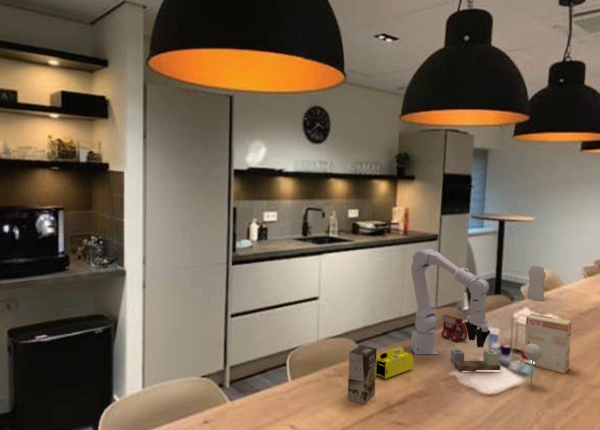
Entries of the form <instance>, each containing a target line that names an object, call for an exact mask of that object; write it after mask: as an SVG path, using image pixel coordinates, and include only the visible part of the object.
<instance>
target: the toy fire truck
mask: <svg viewBox="0 0 600 430" xmlns="http://www.w3.org/2000/svg"><path fill="white" fill-rule="evenodd" d="M442 320H443V325H442V331H441V333H440V334H441V336H442V338H443V339H444V340H448V339H449V338H450V339H451V341H452V342H454V343H456V342H457V343H458V342H459V341H460V340H461V341H463V340H467V339H468V333H467V329H466V326H465V324H464V322H463V318H458V317H454V316H452V315H448V314H443V316H442Z"/></svg>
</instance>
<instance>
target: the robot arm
mask: <svg viewBox="0 0 600 430" xmlns="http://www.w3.org/2000/svg"><path fill="white" fill-rule="evenodd" d="M431 265H434V266H435V265H437V266H439V267H441V268H442V269H444V270H445V271H447V272H449V273H450V274H452V275H453V277H454V279H455V281H457V282H459V283H460V284H462V285H463V286H464V287H465V288H467V289H468V291H469V293H470V305H469V315H466V321H464V322H463V323H464V324H465V327H466V330H467V339H468V340H469V341H475V340H476V347H477V348H484V346H485V342H486V340H487V338H488V336H489V335H490V333H491V330H489V326H488V325H487V324H488V323H489V322H488V321H487V320H486V310H487V309H486V308H487V307H486V306H487V296H488V295H487V293H488V291H490V284H489V281H487V279H485V278H482V277H481V278H479V275H475V274H473V273H472V272H470V269H469V268H467V267H466V268H465V267H460V268H459V267H458V266H457V265H456V264H454V263H453V262H452V261H450V260H449V259H447V258H446V257H444V255H442V254H441V252H439V251H437V250H436V249H434V248H427V249H422V250H421V249H420V250H417V251H416V252H415V253H414V254H413V255H412V263H411V266H410V267H411V268H410V269H411V275H412V276H411V277H412V282H413V283H412V284H413V288H414V293H415V299H416V306H417V311H416V313H415V314H414V315H415V322H414V326H415V329H417V330H412V332H411V337H410V338H411V339H410V341H411V342H410V344H411V345H410V349H411V350H412V352H414V354H415V355H438V354H439V353H438V352H437V351H436V350H435V344H436V343H435V342H436V328H437V327H438V326H439V318H438V317H437V315H436V311H435V309H433V308H432V305H431V301H430V293H429V289H428V283H427V278H426V270H427V269H428V268H429V267H430V266H431Z"/></svg>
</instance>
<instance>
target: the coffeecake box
mask: <svg viewBox="0 0 600 430" xmlns="http://www.w3.org/2000/svg"><path fill="white" fill-rule="evenodd" d="M524 336H525V337H524V348H525V347H526V346H527V345H528V344H536V345H538V346H539V347H540V348H541V350H542V357H541V358H540V359H539V360H536V361H534V362H535V365H536V366H535V367H539V368H543V369H545V370H550V371H554V372H557V373H562V374H565V373H566V372H567V371H568V370H569V369H570V353H571V341H572V340H571V338H572V337H571V336H572V320H569V319H563V318H557V317H553V316H546V315H540V314H536V313H530V314H529V315H528V314H527V316H526V320H525V335H524ZM523 353H524V352H523ZM524 355H525V353H524Z"/></svg>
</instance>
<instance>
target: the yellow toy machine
mask: <svg viewBox="0 0 600 430" xmlns="http://www.w3.org/2000/svg"><path fill="white" fill-rule="evenodd" d="M413 368H414V355H412V353H408V352H405V350H404V348H403V347H402V346H399V347H398V346H397V347H395V348H392V349H389V350H385V351H383V352H380V353H378V355H376V375H377V376H379V377H381V378H382V379H388V378H391V377H393V376H394V377H395V376H396V375H398V376H399V375H400V374H401V373H402V374H403V373H404V372H407V371H410V370H412V369H413Z"/></svg>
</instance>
